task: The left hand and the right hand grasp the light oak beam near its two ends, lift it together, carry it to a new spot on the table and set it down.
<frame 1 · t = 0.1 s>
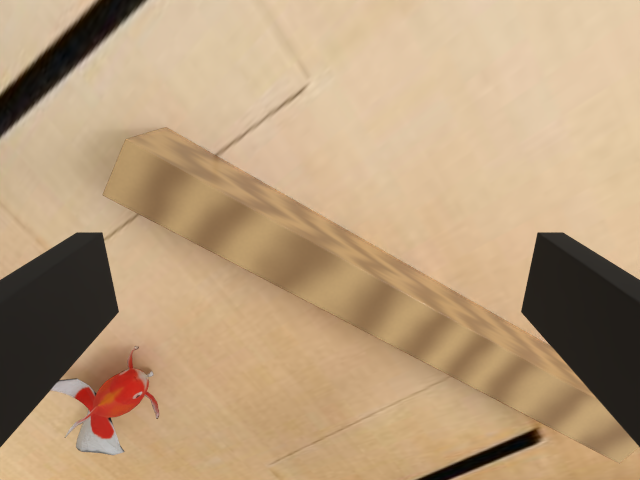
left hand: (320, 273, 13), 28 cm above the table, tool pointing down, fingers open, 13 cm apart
fish: (123, 383, 49), on the table
beam: (396, 284, 44), on the table
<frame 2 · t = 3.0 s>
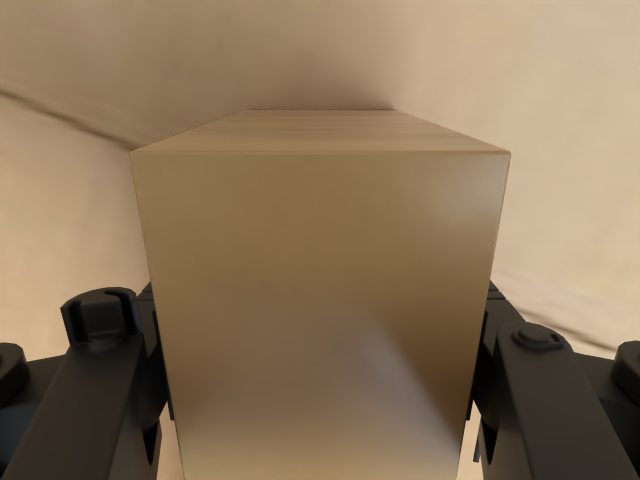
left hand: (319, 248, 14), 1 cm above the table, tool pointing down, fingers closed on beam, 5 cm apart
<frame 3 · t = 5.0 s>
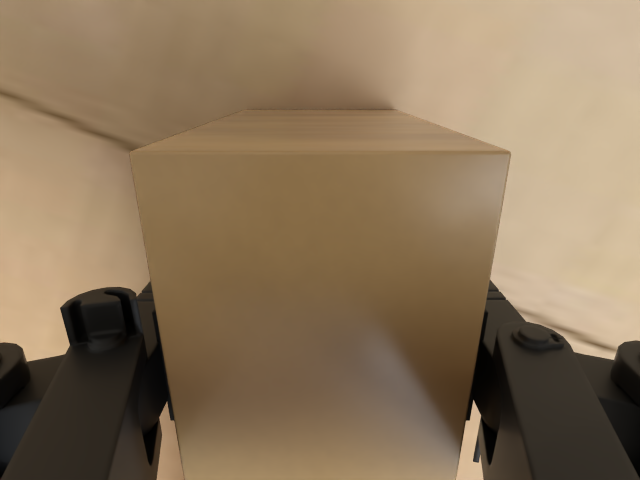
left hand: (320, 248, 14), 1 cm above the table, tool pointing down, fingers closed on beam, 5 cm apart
when the left hand's fingers open (2 cm above the table, at t = 11.2 s): beam drops 2 cm, on the table.
when the right hand's fingers open (5 cm above the table, at t = 11.4 s): beam stays where it is, on the table.
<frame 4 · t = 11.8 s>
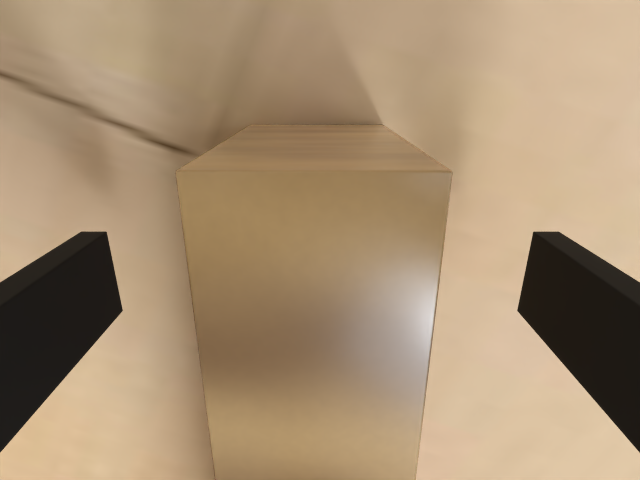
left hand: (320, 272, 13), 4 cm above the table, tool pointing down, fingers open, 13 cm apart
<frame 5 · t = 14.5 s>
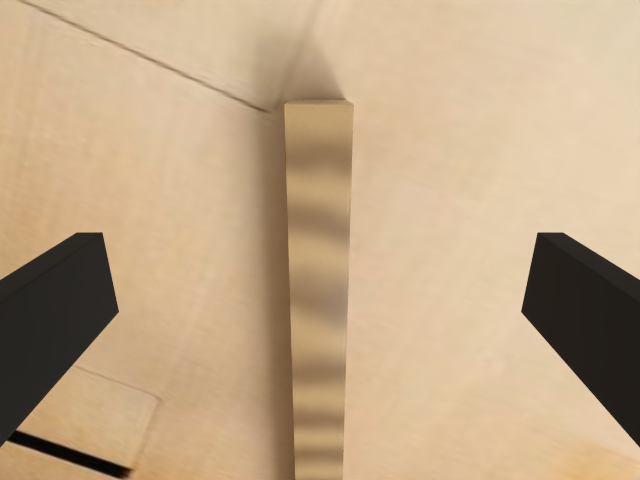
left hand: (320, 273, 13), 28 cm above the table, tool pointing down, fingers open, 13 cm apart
beam: (318, 353, 47), on the table
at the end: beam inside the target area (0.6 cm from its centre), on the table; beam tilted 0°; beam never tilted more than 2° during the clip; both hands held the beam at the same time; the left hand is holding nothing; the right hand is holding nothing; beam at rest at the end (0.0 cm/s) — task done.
